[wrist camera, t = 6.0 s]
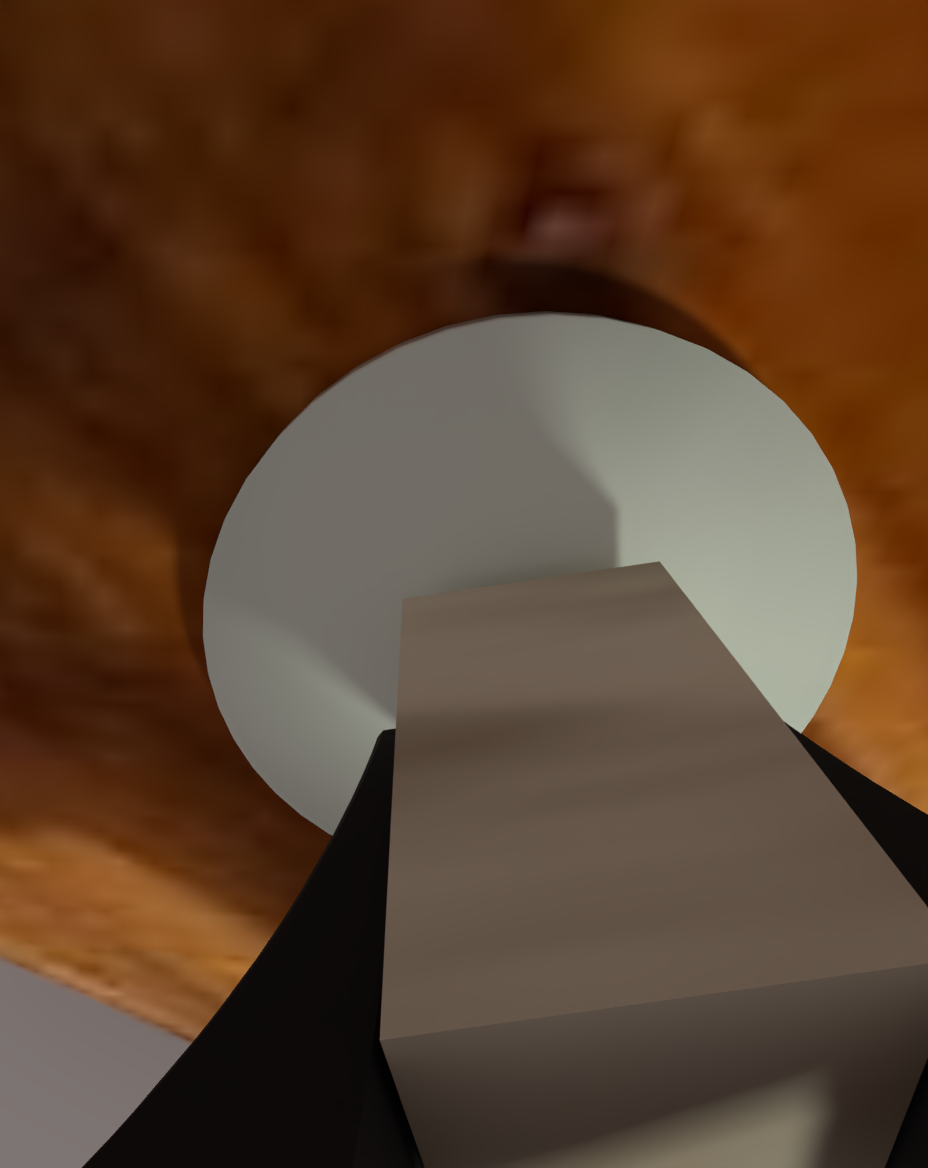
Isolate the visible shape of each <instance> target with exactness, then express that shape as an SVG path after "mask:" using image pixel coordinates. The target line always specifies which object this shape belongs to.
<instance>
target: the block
mask: <svg viewBox="0 0 928 1168" xmlns="http://www.w3.org/2000/svg"><path fill="white" fill-rule="evenodd" d="M380 1042H381V1045H382V1048H383V1051H384V1054H385V1057H386V1060H387V1062H388V1065H389V1068H390V1071H391V1074H392V1077H393V1079H394V1082H395V1085H396V1088H397V1091H398V1094H399V1096H400V1099H401V1102H402V1105H403V1108H404V1111H405V1113H406V1116H407V1119H408V1122H409V1125H410V1128H411V1130H412V1133H413V1136H414V1139H415V1142H416V1145H417V1147H418V1150H419V1153H420V1156H421V1159H422V1162H423V1164H424V1167H425V1168H885V1166H886V1163H887V1160H888V1158H889V1155H890V1153H891V1150H892V1148H893V1145H894V1143H895V1140H896V1137H897V1135H898V1132H899V1130H900V1127H901V1125H902V1122H903V1120H904V1117H905V1115H906V1112H907V1109H908V1107H909V1104H910V1102H911V1099H912V1097H913V1094H914V1092H915V1089H916V1086H917V1084H918V1081H919V1079H920V1076H921V1074H922V1071H923V1069H924V1066H925V1064H926V1061H927V1058H928V907H927V906H926V904H925V903H924V902H923V901H922V899H921V898H920V897H919V895H918V894H917V893H916V892H915V890H914V889H913V888H912V886H911V885H910V884H909V882H908V881H907V880H906V879H905V877H904V876H903V875H902V873H901V872H900V871H899V870H898V868H897V867H896V866H895V864H894V863H893V862H892V861H891V859H890V858H889V857H888V855H887V854H886V853H885V852H884V850H883V849H882V848H881V846H880V845H879V844H878V842H877V841H876V840H875V839H874V837H873V836H872V835H871V833H870V832H869V831H868V830H867V828H866V827H865V826H864V824H863V823H862V822H861V821H860V819H859V818H858V817H857V815H856V814H855V813H854V811H853V810H852V809H851V808H850V806H849V805H848V804H847V802H846V801H845V800H844V799H843V797H842V796H841V795H840V793H839V792H838V791H837V790H836V788H835V787H834V786H833V784H832V783H831V782H830V781H829V779H828V778H827V777H826V775H825V774H824V773H823V771H822V770H821V769H820V768H819V766H818V765H817V764H816V762H815V761H814V760H813V759H812V757H811V756H810V755H809V753H808V752H807V751H806V750H805V748H804V747H803V746H802V744H801V743H800V742H799V741H798V739H797V738H796V737H795V735H794V734H793V733H792V731H791V730H790V729H789V728H788V726H787V725H786V724H785V722H784V721H783V720H782V719H781V717H780V716H779V715H778V713H777V712H776V711H775V710H774V708H773V707H772V706H771V704H770V703H769V702H768V700H767V699H766V698H765V697H764V695H763V694H762V693H761V691H760V690H759V689H758V688H757V686H756V685H755V684H754V682H753V681H752V680H751V679H750V677H749V676H748V675H747V673H746V672H745V671H744V670H743V668H742V667H741V666H740V664H739V663H738V662H737V660H736V659H735V658H734V657H733V655H732V654H731V653H730V651H729V650H728V649H727V648H726V646H725V645H724V644H723V642H722V641H721V640H720V639H719V637H718V636H717V635H716V633H715V632H714V631H713V630H712V628H711V627H710V626H709V624H708V623H707V622H706V620H705V619H704V618H703V617H702V615H701V614H700V613H699V611H698V610H697V609H696V608H695V606H694V605H693V604H692V602H691V601H690V600H689V599H688V597H687V596H686V595H685V593H684V592H683V591H682V590H681V588H680V587H679V586H678V584H677V583H676V582H675V580H674V579H673V578H672V577H671V575H670V574H669V573H668V571H667V570H666V569H665V568H664V566H663V565H662V564H661V562H660V561H659V562H652V563H645V564H638V565H631V566H624V567H617V568H610V569H603V570H596V571H589V572H583V573H576V574H569V575H562V576H555V577H548V578H541V579H534V580H527V581H520V582H514V583H507V584H500V585H493V586H486V587H479V588H472V589H465V590H458V591H451V592H445V593H438V594H431V595H424V596H417V597H410V598H403V599H402V618H401V637H400V657H399V676H398V695H397V715H396V734H395V753H394V773H393V792H392V811H391V831H390V850H389V869H388V889H387V908H386V927H385V947H384V966H383V985H382V1005H381V1024H380Z"/></svg>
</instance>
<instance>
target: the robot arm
mask: <svg viewBox="0 0 928 1168" xmlns="http://www.w3.org/2000/svg"><path fill="white" fill-rule="evenodd" d="M785 724H786V725H787V726H788V728H789V729H790V730H791V731H792V733H793V734H794V735H795V737H796V738H797V739H798V741H799V742H800V743H801V744H802V746H803V747H804V748H805V750H806V751H807V752H808V753H809V755H810V756H811V757H812V759H813V760H814V761H815V762H816V764H817V765H818V766H819V768H820V769H821V770H822V771H823V773H824V774H825V775H826V777H827V778H828V779H829V781H830V782H831V783H832V784H833V786H834V787H835V788H836V790H837V791H838V792H839V793H840V795H841V796H842V797H843V799H844V800H845V801H846V802H847V804H848V805H849V806H850V808H851V809H852V810H853V811H854V813H855V814H856V815H857V817H858V818H859V819H860V821H861V822H862V823H863V824H864V826H865V827H866V828H867V830H868V831H869V832H870V833H871V835H872V836H873V837H874V839H875V840H876V841H877V842H878V844H879V845H880V846H881V848H882V849H883V850H884V852H885V853H886V854H887V855H888V857H889V858H890V859H891V861H892V862H893V863H894V864H895V866H896V867H897V868H898V870H899V871H900V872H901V873H902V875H903V876H904V877H905V879H906V880H907V881H908V882H909V884H910V885H911V886H912V888H913V889H914V890H915V892H916V893H917V894H918V895H919V897H920V898H921V899H922V901H923V902H924V903H925V904H926V906H927V907H928V815H927V814H926V813H924V812H922V811H921V810H919V809H917V808H916V807H914V806H912V805H911V804H909V803H907V802H906V801H904V800H902V799H901V798H899V797H897V796H896V795H894V794H893V793H891V792H889V791H888V790H886V789H884V788H883V787H881V786H879V785H878V784H876V783H875V782H873V781H871V780H870V779H868V778H867V777H865V776H864V775H862V774H861V773H859V772H857V771H856V770H854V769H853V768H851V767H850V766H848V765H847V764H845V763H844V762H842V761H841V760H839V759H838V758H836V757H835V756H833V755H832V754H830V753H829V752H827V751H826V750H824V749H823V748H821V747H820V746H818V745H817V744H815V743H814V742H813V741H811V740H810V739H808V738H807V737H805V736H804V735H803V734H801V733H800V732H798V731H797V730H795V729H794V728H793V727H791V726H790V725H788V724H787V723H786V722H785ZM395 734H396V728H395V729H388V730H383V731H382V732H381V733H380V735H379V736H378V737H377V740H376V743H375V745H374V748H373V751H372V753H371V756H370V758H369V761H368V763H367V765H366V768H365V770H364V772H363V775H362V777H361V779H360V781H359V783H358V786H357V788H356V790H355V792H354V794H353V796H352V798H351V800H350V802H349V804H348V806H347V808H346V810H345V812H344V814H343V816H342V818H341V820H340V822H339V824H338V826H337V828H336V830H335V832H334V834H333V836H332V838H331V840H330V842H329V844H328V845H327V847H326V849H325V851H324V852H323V854H322V856H321V858H320V859H319V861H318V863H317V865H316V866H315V868H314V870H313V871H312V873H311V875H310V877H309V878H308V880H307V882H306V884H305V885H304V887H303V889H302V890H301V892H300V894H299V895H298V897H297V899H296V900H295V902H294V903H293V905H292V907H291V908H290V910H289V911H288V913H287V914H286V916H285V918H284V919H283V921H282V922H281V924H280V925H279V927H278V928H277V930H276V931H275V933H274V934H273V936H272V937H271V938H270V940H269V941H268V943H267V944H266V946H265V947H264V949H263V950H262V952H261V953H260V955H259V956H258V957H257V959H256V960H255V962H254V963H253V964H252V966H251V967H250V968H249V970H248V971H247V972H246V974H245V975H244V976H243V978H242V979H241V981H240V982H239V983H238V985H237V986H236V987H235V989H234V990H233V991H232V993H231V994H230V995H229V997H228V998H227V999H226V1001H225V1002H224V1003H223V1005H222V1006H221V1007H220V1009H219V1010H218V1011H217V1013H216V1014H215V1015H214V1016H213V1018H212V1019H211V1020H210V1021H209V1023H208V1024H207V1025H206V1027H205V1028H204V1029H203V1030H202V1032H201V1033H200V1034H199V1035H198V1037H197V1038H196V1039H195V1040H194V1041H193V1043H192V1044H191V1045H190V1046H189V1047H188V1049H187V1050H186V1051H185V1052H184V1053H183V1054H182V1055H181V1057H180V1058H179V1059H178V1060H177V1061H176V1063H175V1064H174V1065H173V1066H172V1067H171V1069H170V1070H169V1071H168V1072H167V1073H166V1075H165V1076H164V1077H163V1078H162V1079H161V1080H160V1081H159V1083H158V1084H157V1085H156V1086H155V1087H154V1088H153V1090H152V1091H151V1092H150V1093H149V1094H148V1095H147V1097H146V1098H145V1099H144V1100H143V1102H142V1103H141V1104H140V1105H139V1106H138V1107H137V1108H136V1110H135V1111H134V1112H133V1113H132V1114H131V1115H130V1116H129V1117H128V1119H127V1120H126V1121H125V1122H124V1123H123V1124H122V1125H121V1126H120V1127H119V1129H118V1130H117V1131H116V1132H115V1133H114V1134H113V1135H112V1136H111V1137H110V1139H109V1140H108V1141H107V1142H106V1143H105V1144H104V1145H103V1146H102V1147H101V1148H100V1149H99V1150H98V1151H97V1152H96V1153H95V1154H94V1155H93V1157H92V1158H90V1160H89V1161H88V1162H87V1163H86V1164H85V1165H84V1166H83V1167H82V1168H425V1167H424V1164H423V1162H422V1159H421V1156H420V1153H419V1150H418V1147H417V1145H416V1142H415V1139H414V1136H413V1133H412V1130H411V1128H410V1125H409V1122H408V1119H407V1116H406V1113H405V1111H404V1108H403V1105H402V1102H401V1099H400V1096H399V1094H398V1091H397V1088H396V1085H395V1082H394V1079H393V1077H392V1074H391V1071H390V1068H389V1065H388V1062H387V1060H386V1057H385V1054H384V1051H383V1048H382V1045H381V1042H380V1024H381V1005H382V985H383V966H384V947H385V927H386V908H387V889H388V869H389V850H390V831H391V811H392V792H393V773H394V753H395ZM885 1168H928V1058H927V1061H926V1064H925V1066H924V1069H923V1071H922V1074H921V1076H920V1079H919V1081H918V1084H917V1086H916V1089H915V1092H914V1094H913V1097H912V1099H911V1102H910V1104H909V1107H908V1109H907V1112H906V1115H905V1117H904V1120H903V1122H902V1125H901V1127H900V1130H899V1132H898V1135H897V1137H896V1140H895V1143H894V1145H893V1148H892V1150H891V1153H890V1155H889V1158H888V1160H887V1163H886V1166H885Z"/></svg>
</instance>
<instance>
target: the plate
mask: <svg viewBox="0 0 928 1168" xmlns="http://www.w3.org/2000/svg"><path fill="white" fill-rule="evenodd" d="M659 561H660V562H661V564H662V565H663V566H664V568H665V569H666V570H667V571H668V573H669V574H670V575H671V577H672V578H673V579H674V580H675V582H676V583H677V584H678V586H679V587H680V588H681V590H682V591H683V592H684V593H685V595H686V596H687V597H688V599H689V600H690V601H691V602H692V604H693V605H694V606H695V608H696V609H697V610H698V611H699V613H700V614H701V615H702V617H703V618H704V619H705V620H706V622H707V623H708V624H709V626H710V627H711V628H712V630H713V631H714V632H715V633H716V635H717V636H718V637H719V639H720V640H721V641H722V642H723V644H724V645H725V646H726V648H727V649H728V650H729V651H730V653H731V654H732V655H733V657H734V658H735V659H736V660H737V662H738V663H739V664H740V666H741V667H742V668H743V670H744V671H745V672H746V673H747V675H748V676H749V677H750V679H751V680H752V681H753V682H754V684H755V685H756V686H757V688H758V689H759V690H760V691H761V693H762V694H763V695H764V697H765V698H766V699H767V700H768V702H769V703H770V704H771V706H772V707H773V708H774V710H775V711H776V712H777V713H778V715H779V716H780V717H781V719H782V720H783V721H784V722H786V723H787V724H788V725H790V726H791V727H793V728H794V729H795V730H797V731H798V732H800V733H802V731H803V730H804V728H805V727H806V726H807V724H808V723H809V722H810V720H811V719H812V717H813V716H814V714H815V713H816V711H817V709H818V707H819V705H820V704H821V702H822V700H823V698H824V696H825V695H826V693H827V691H828V689H829V687H830V686H831V683H832V681H833V678H834V676H835V674H836V671H837V669H838V666H839V664H840V661H841V659H842V656H843V654H844V651H845V647H846V643H847V639H848V635H849V631H850V627H851V624H852V620H853V614H854V605H855V595H856V586H857V568H856V547H855V539H854V534H853V530H852V525H851V520H850V516H849V511H848V506H847V503H846V501H845V498H844V496H843V493H842V491H841V488H840V486H839V483H838V481H837V478H836V475H835V473H834V470H833V468H832V467H831V465H830V463H829V462H828V460H827V458H826V457H825V455H824V453H823V452H822V450H821V448H820V447H819V445H818V443H817V442H816V440H815V439H814V437H813V435H812V434H811V432H810V431H809V430H808V429H807V428H806V427H805V426H804V424H803V423H802V422H801V421H800V420H799V419H798V417H797V416H796V415H795V414H794V413H793V412H792V411H791V409H790V408H789V407H788V406H787V405H786V404H785V403H784V401H783V400H781V399H780V398H779V397H778V396H776V395H775V394H774V393H773V392H772V391H770V390H769V389H768V388H767V387H765V386H764V385H763V384H762V383H761V382H759V381H758V380H757V379H756V378H754V377H753V376H752V375H751V374H750V373H748V372H747V371H745V370H743V369H741V368H740V367H738V366H736V365H735V364H733V363H731V362H729V361H728V360H726V359H724V358H722V357H721V356H719V355H717V354H716V353H714V352H712V351H710V350H709V349H707V348H704V347H702V346H699V345H696V344H694V343H691V342H688V341H686V340H683V339H681V338H678V337H675V336H673V335H670V334H668V333H665V332H662V331H660V330H657V329H654V328H650V327H647V326H644V325H641V324H637V323H632V322H628V321H623V320H618V319H614V318H609V317H605V316H600V315H595V314H583V313H568V312H553V311H538V312H525V313H512V314H499V315H492V316H488V317H483V318H479V319H474V320H469V321H465V322H460V323H456V324H451V325H447V326H444V327H441V328H439V329H436V330H433V331H430V332H428V333H425V334H422V335H420V336H417V337H414V338H412V339H409V340H406V341H404V342H401V343H399V344H397V345H395V346H393V347H391V348H389V349H388V350H386V351H384V352H382V353H380V354H378V355H376V356H375V357H373V358H371V359H369V360H367V361H365V362H364V363H362V364H360V365H358V366H356V367H355V368H354V369H352V370H351V371H349V372H348V373H347V374H345V375H344V376H343V377H341V378H340V379H339V380H337V381H336V382H335V383H333V384H332V385H331V386H329V387H328V388H326V389H325V390H324V391H322V392H321V393H320V394H318V395H317V396H316V397H315V398H314V399H313V400H312V401H311V402H310V403H309V404H308V405H307V406H306V407H305V408H304V409H303V410H302V411H301V412H300V413H299V414H298V415H297V416H296V417H295V418H294V419H293V420H292V421H291V422H290V423H289V424H288V425H287V426H286V427H285V428H284V430H283V431H282V432H281V433H280V435H279V436H278V437H277V439H276V440H275V441H274V443H273V444H272V445H271V447H270V448H269V449H268V451H267V452H266V453H265V455H264V456H263V457H262V459H261V460H260V461H259V463H258V464H257V465H256V467H255V468H254V469H253V471H252V472H251V473H250V475H249V476H248V477H247V479H246V480H245V482H244V484H243V486H242V488H241V489H240V491H239V493H238V495H237V497H236V499H235V501H234V502H233V504H232V506H231V508H230V510H229V512H228V514H227V516H226V517H225V519H224V522H223V525H222V528H221V531H220V534H219V537H218V539H217V542H216V545H215V548H214V551H213V554H212V557H211V560H210V566H209V571H208V577H207V582H206V588H205V594H204V603H203V641H204V648H205V655H206V662H207V669H208V675H209V678H210V681H211V685H212V688H213V691H214V694H215V698H216V701H217V704H218V707H219V710H220V712H221V714H222V716H223V718H224V720H225V722H226V724H227V726H228V728H229V730H230V733H231V735H232V737H233V739H234V740H235V742H236V743H237V745H238V746H239V748H240V749H241V751H242V752H243V754H244V755H245V757H246V758H247V760H248V761H249V763H250V764H251V766H252V767H253V768H254V770H255V771H256V772H257V773H258V774H259V775H260V776H261V777H262V779H263V780H264V781H265V782H266V783H267V784H268V785H269V786H270V787H271V789H272V790H273V791H274V792H275V793H276V794H277V795H278V796H279V797H281V798H282V799H283V800H284V801H285V802H286V803H288V804H289V805H290V806H291V807H292V808H293V809H295V810H296V811H297V812H298V813H299V814H300V815H302V816H303V817H305V818H306V819H308V820H309V821H311V822H312V823H314V824H315V825H316V826H318V827H319V828H321V829H322V830H324V831H325V832H327V833H328V834H330V835H332V836H333V834H334V832H335V830H336V828H337V826H338V824H339V822H340V820H341V818H342V816H343V814H344V812H345V810H346V808H347V806H348V804H349V802H350V800H351V798H352V796H353V794H354V792H355V790H356V788H357V786H358V783H359V781H360V779H361V777H362V775H363V772H364V770H365V768H366V765H367V763H368V761H369V758H370V756H371V753H372V751H373V748H374V745H375V743H376V740H377V737H378V736H379V735H380V733H381V732H382V731H383V730H388V729H395V728H396V715H397V695H398V676H399V657H400V637H401V618H402V599H403V598H410V597H417V596H424V595H431V594H438V593H445V592H451V591H458V590H465V589H472V588H479V587H486V586H493V585H500V584H507V583H514V582H520V581H527V580H534V579H541V578H548V577H555V576H562V575H569V574H576V573H583V572H589V571H596V570H603V569H610V568H617V567H624V566H631V565H638V564H645V563H652V562H659Z"/></svg>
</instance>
